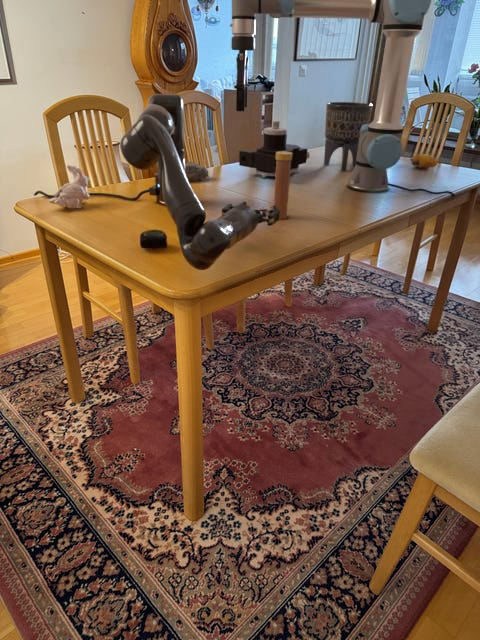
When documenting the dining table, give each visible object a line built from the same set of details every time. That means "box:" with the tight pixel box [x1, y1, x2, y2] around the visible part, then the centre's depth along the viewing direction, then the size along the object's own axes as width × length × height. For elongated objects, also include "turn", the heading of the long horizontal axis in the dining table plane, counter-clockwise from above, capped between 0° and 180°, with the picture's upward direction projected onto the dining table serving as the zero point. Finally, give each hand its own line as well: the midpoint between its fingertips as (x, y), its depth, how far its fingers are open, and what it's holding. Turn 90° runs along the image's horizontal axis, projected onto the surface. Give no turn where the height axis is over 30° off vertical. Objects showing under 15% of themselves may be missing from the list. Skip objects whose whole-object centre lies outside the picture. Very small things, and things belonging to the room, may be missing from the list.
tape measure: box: [139, 229, 168, 250], centre depth 117 cm, size 7×7×4 cm
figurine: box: [48, 164, 91, 209], centre depth 145 cm, size 8×15×13 cm, turn 145°
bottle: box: [273, 160, 291, 220], centre depth 138 cm, size 4×4×19 cm
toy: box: [409, 153, 439, 169], centre depth 213 cm, size 11×6×15 cm
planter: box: [323, 101, 374, 172], centre depth 204 cm, size 20×20×26 cm
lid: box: [276, 151, 292, 161], centre depth 133 cm, size 5×5×2 cm
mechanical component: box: [238, 120, 311, 178], centre depth 191 cm, size 22×21×30 cm
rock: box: [185, 160, 210, 183], centre depth 181 cm, size 13×9×6 cm, turn 131°
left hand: (260, 207), depth 122 cm, fingers open, 8 cm apart
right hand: (241, 109), depth 155 cm, fingers open, 13 cm apart
